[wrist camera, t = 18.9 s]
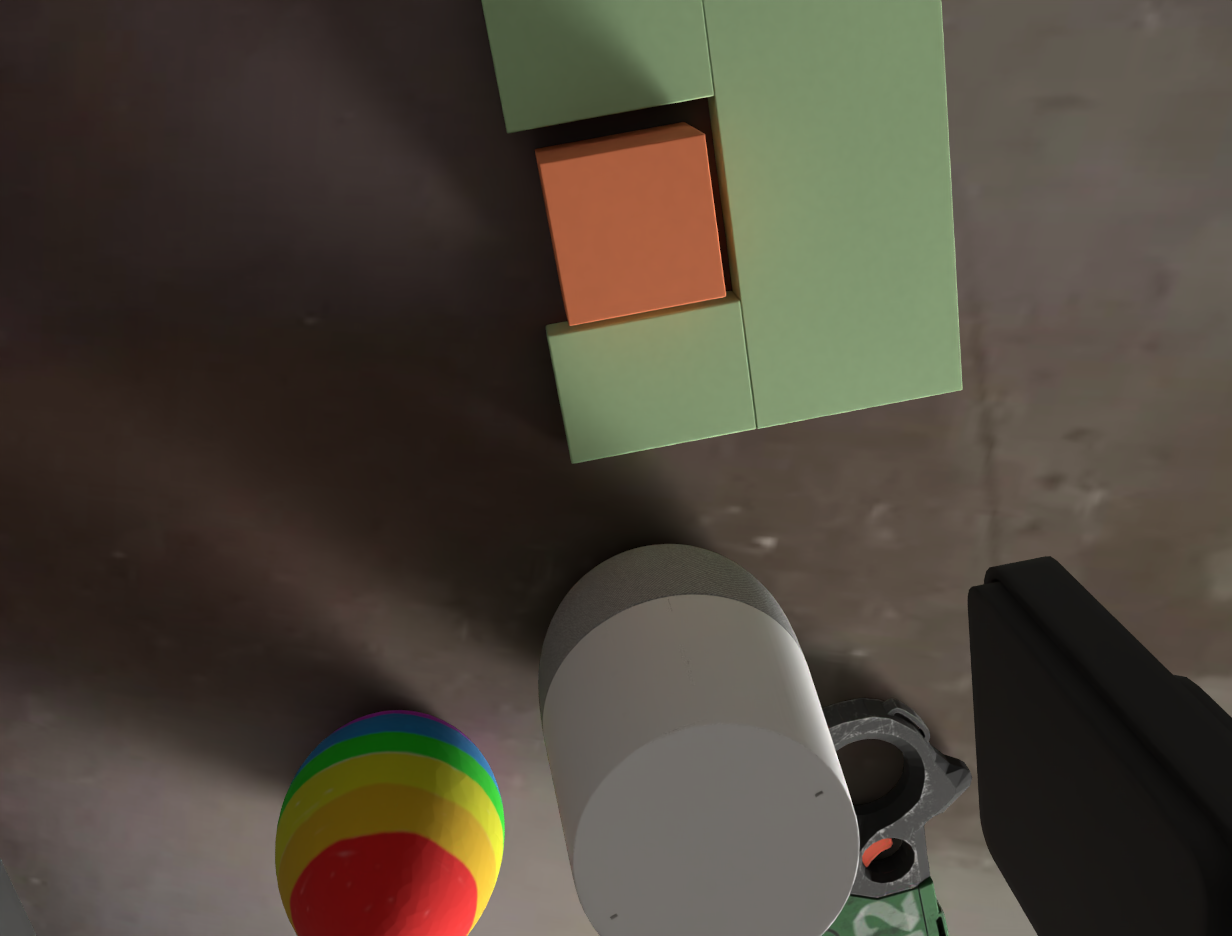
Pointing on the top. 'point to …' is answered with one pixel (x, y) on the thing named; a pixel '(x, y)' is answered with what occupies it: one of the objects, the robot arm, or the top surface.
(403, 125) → the top surface
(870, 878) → the gun
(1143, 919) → the robot arm
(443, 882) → the decorative egg
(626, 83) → the green u-shaped slab
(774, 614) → the smart speaker
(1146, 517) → the top surface
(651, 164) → the orange block
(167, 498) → the top surface
